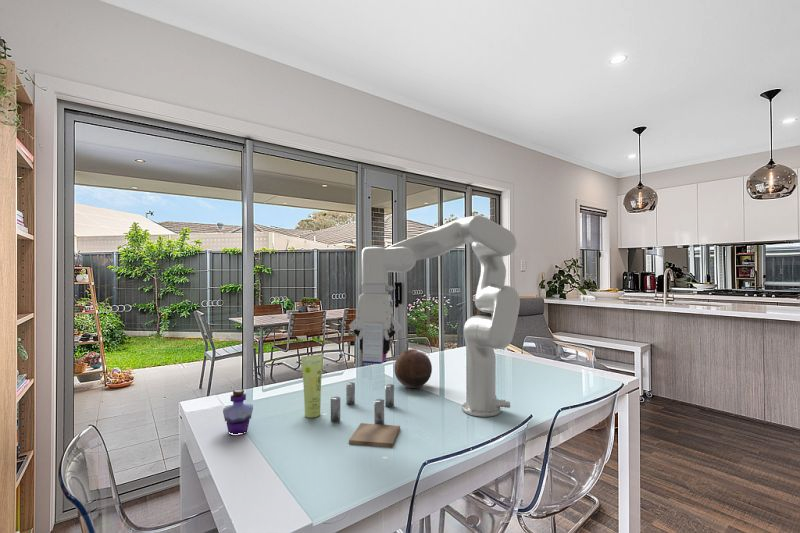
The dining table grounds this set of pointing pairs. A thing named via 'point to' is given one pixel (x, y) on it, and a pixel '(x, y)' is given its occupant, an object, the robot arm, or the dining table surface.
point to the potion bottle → (238, 413)
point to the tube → (312, 384)
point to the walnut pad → (375, 435)
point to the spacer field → (351, 400)
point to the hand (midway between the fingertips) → (374, 352)
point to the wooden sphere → (413, 368)
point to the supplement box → (373, 343)
